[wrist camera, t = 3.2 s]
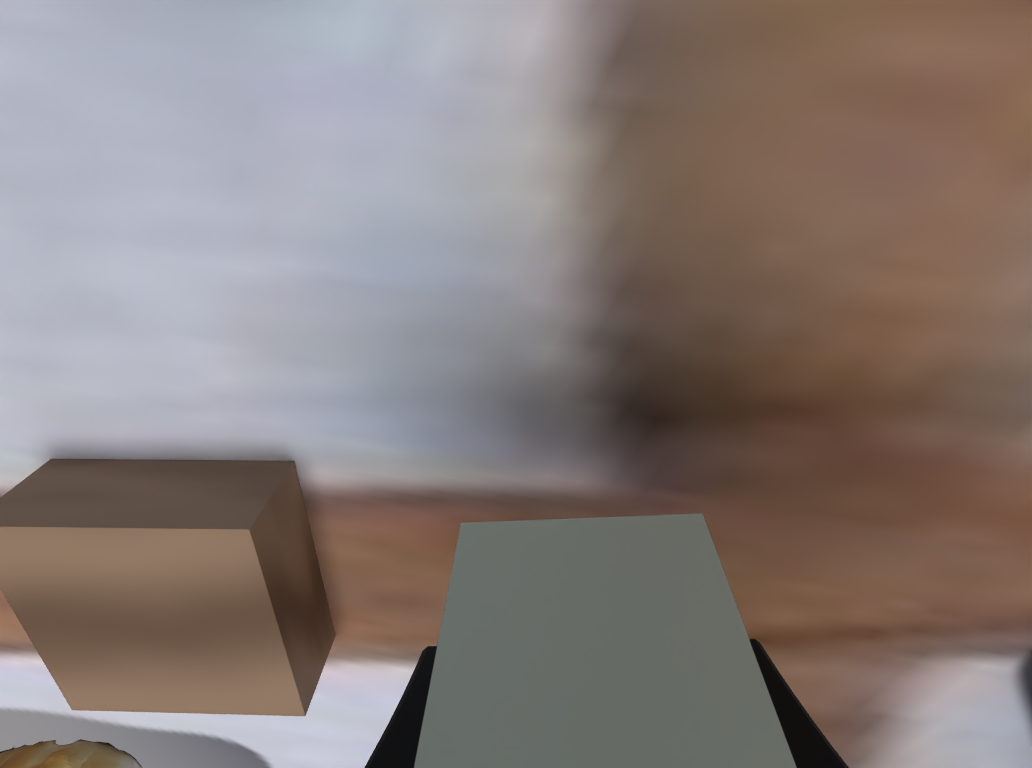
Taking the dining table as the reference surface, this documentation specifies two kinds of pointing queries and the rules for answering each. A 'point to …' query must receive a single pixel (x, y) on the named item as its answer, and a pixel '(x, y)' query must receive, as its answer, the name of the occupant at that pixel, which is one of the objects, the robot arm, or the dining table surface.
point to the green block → (595, 652)
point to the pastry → (67, 756)
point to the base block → (168, 584)
